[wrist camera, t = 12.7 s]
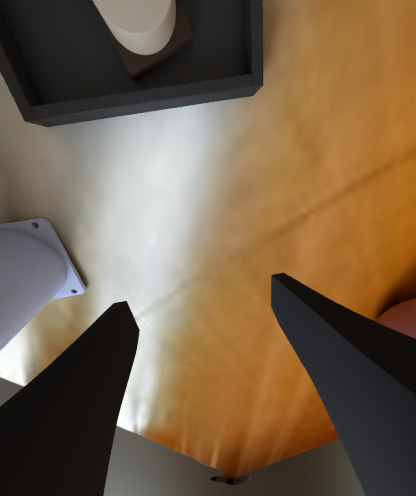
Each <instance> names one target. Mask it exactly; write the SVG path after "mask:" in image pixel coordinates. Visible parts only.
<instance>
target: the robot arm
mask: <svg viewBox="0 0 416 496" xmlns="http://www.w3.org/2000/svg"><path fill="white" fill-rule="evenodd" d="M35 223H37V224H38V226H39V227H38V226H36V225H35ZM74 289H75V290H76V291H75V290H74ZM85 291H86V287H85V285H84V283H83V281H82V279H81V278H80V276H79V274H78V272H77V270H76V269H75V267H74V265H73V263H72V261H71V260H70V258H69V256H68V254H67V252H66V250H65V249H64V247H63V245H62V243H61V241H60V240H59V238H58V236H57V234H56V232H55V230H54V229H53V227H52V225H51V223H50V222H49V220H47V219H46V218H35V219H29V220H23V221H17V222H11V223H5V224H0V351H1V350H2V349H3V348H4V347H5V346H6V345H7V344H8V342H9V341H10V340H11V339H12V338H13V337H14V336H15V335H16V334H17V333H18V332H19V331H20V330H21V329H22V328H23V327H24V326H25V325H26V324H27V323H28V322H29V321H30V320H31V319H32V318H33V317H34V316H35V315H36V314H37V313H38V312H39V311H40V310H41V309H42V308H43V307H44V306H45V305H46V304H47V303H48V302H49V301H50V300H51V299H56V298H61V297H67V296H73V295H78V294H83V293H84V292H85ZM271 307H272V309H273V312H274V314H275V316H276V318H277V321H278V323H279V325H280V327H281V328H282V330H283V332H284V334H285V335H286V337H287V339H288V340H289V342H290V344H291V345H292V347H293V349H294V350H295V352H296V354H297V356H298V357H299V359H300V361H301V362H302V364H303V366H304V367H305V369H306V371H307V372H308V374H309V376H310V378H311V380H312V381H313V383H314V385H315V387H316V389H317V391H318V394H319V396H320V398H321V400H322V402H323V404H324V406H325V408H326V410H327V412H328V414H329V416H330V418H331V421H332V423H333V425H334V427H335V429H336V431H337V433H338V435H339V438H340V440H341V442H342V444H343V446H344V449H345V451H346V453H347V455H348V457H349V460H350V462H351V464H352V466H353V469H354V471H355V473H356V475H357V478H358V480H359V482H360V484H361V486H362V489H363V491H364V494H365V496H416V338H413V337H410V336H408V335H405V334H403V333H401V332H398V331H396V330H393V329H391V328H389V327H386V326H384V325H382V324H380V323H377V322H375V321H373V320H371V319H368V318H366V317H364V316H362V315H360V314H358V313H356V312H354V311H352V310H350V309H348V308H346V307H344V306H342V305H340V304H338V303H336V302H334V301H332V300H330V299H328V298H327V297H325V296H323V295H321V294H319V293H318V292H316V291H314V290H312V289H311V288H309V287H307V286H306V285H304V284H302V283H300V282H299V281H297V280H295V279H294V278H292V277H290V276H288V275H287V274H285V273H280V274H275V275H272V279H271ZM139 331H140V330H139V328H138V326H137V323H136V321H135V319H134V317H133V314H132V312H131V310H130V308H129V305H128V303H127V301H123V302H118V303H114V304H113V305H111V306H110V307H109V308H108V309H107V310H106V311H105V312H104V313H103V314H102V315H101V316H100V317H99V318H98V319H97V320H96V321H95V322H94V323H93V324H92V325H91V326H90V327H89V328H88V329H87V330H86V331H85V332H84V333H83V334H82V335H81V336H80V337H79V338H78V339H77V340H76V341H75V342H74V343H73V344H71V345H70V346H69V347H68V348H67V349H66V350H65V351H64V352H63V353H62V354H61V355H60V356H59V357H57V358H56V359H55V360H54V361H53V362H52V363H51V364H50V365H49V366H48V367H47V368H46V369H44V370H43V371H42V372H41V373H40V374H39V375H38V376H36V377H35V378H34V379H33V380H32V381H31V382H29V383H28V384H27V385H26V386H25V387H23V388H22V389H21V390H20V391H19V392H18V393H16V394H15V395H14V396H13V397H11V398H10V399H9V400H8V401H6V402H5V403H4V404H3V405H2V406H0V496H103V494H104V488H105V483H106V477H107V471H108V465H109V460H110V454H111V449H112V444H113V439H114V434H115V429H116V424H117V420H118V416H119V412H120V408H121V404H122V401H123V397H124V394H125V390H126V387H127V383H128V380H129V376H130V373H131V369H132V366H133V362H134V358H135V355H136V350H137V344H138V338H139Z"/></svg>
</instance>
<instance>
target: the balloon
mask: <svg viewBox="0 0 416 496" xmlns="http://www.w3.org/2000/svg"><path fill="white" fill-rule="evenodd" d="M376 322H377V323H380V324H382V325H384V326H386V327H389V328H391V329H393V330H396V331H398V332H401V333H403V334H405V335H408V336H410V337H413V338H416V298H415V299H411V300H408V301H404V302H402V303H399V304H397V305H395V306H393V307H391V308H390V309H388V310H387V311H386V312H384V313H383V314H382V315H381V316H380V317H379V318H378V319H377V321H376Z"/></svg>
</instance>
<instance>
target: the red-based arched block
mask: <svg viewBox="0 0 416 496" xmlns="http://www.w3.org/2000/svg"><path fill="white" fill-rule="evenodd" d="M90 1H91V2H92V4H93V6H94V8H95V10H96V12H97V14H98V16H99V17H100V19H101V21H102V23H103V25H104V27H105V29H106V31H107V33H108V34H109V36H110V38H111V40H112V42H113V44H114V46H115V48H116V49H117V51H118V53H119V55H120V57H121V59H122V61H123V63H124V64H125V66H126V68H127V70H128V72H129V74H130V76H131V77H132V79H133V80H134V81H137V80H138V79H140V78H141V77H143V76H144V75H146V74H147V73H149V72H150V71H152V70H154V69H155V68H157V67H158V66H160V65H161V64H163V63H164V62H166V61H167V60H169V59H170V58H172V57H173V56H175V55H176V54H178V53H179V52H181V51H182V50H184V49H186V48H187V47H189V46H190V45H192V44H193V31H192V29H191V26H190V23H189V21H188V18H187V15H186V13H185V10H184V7H183V5H182V2H181V0H90Z"/></svg>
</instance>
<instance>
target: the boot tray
mask: <svg viewBox="0 0 416 496" xmlns="http://www.w3.org/2000/svg"><path fill="white" fill-rule="evenodd" d="M181 2H182V5H183V7H184V10H185V13H186V15H187V18H188V21H189V23H190V26H191V29H192V31H193V44H192V45H190V46H189V47H187V48H186V49H184V50H182V51H181V52H179V53H178V54H176V55H175V56H173V57H172V58H170V59H169V60H167V61H166V62H164V63H163V64H161V65H160V66H158V67H157V68H155V69H154V70H152V71H150V72H149V73H147V74H146V75H144V76H143V77H141V78H140V79H138V80H137V81H134V80H133V79H132V77H131V76H130V74H129V72H128V70H127V68H126V66H125V64H124V63H123V61H122V59H121V57H120V55H119V53H118V51H117V49H116V48H115V46H114V44H113V42H112V40H111V38H110V36H109V34H108V33H107V31H106V29H105V27H104V25H103V23H102V21H101V19H100V17H99V16H98V14H97V12H96V10H95V8H94V6H93V4H92V2H91V1H90V0H0V72H1V74H2V76H3V78H4V80H5V82H6V84H7V86H8V88H9V90H10V92H11V94H12V96H13V98H14V100H15V102H16V104H17V106H18V108H19V111H20V113H21V115H22V117H23V119H24V121H25V122H29V123H33V124H37V125H41V126H45V127H51V126H58V125H64V124H71V123H77V122H84V121H90V120H97V119H103V118H110V117H116V116H123V115H130V114H136V113H143V112H149V111H156V110H162V109H169V108H175V107H182V106H189V105H195V104H202V103H208V102H215V101H221V100H228V99H234V98H241V97H247V96H253V95H254V94H255V93H256V92H257V91H258V90H259V89H260V88H261V87H262V86H263V10H262V0H181Z"/></svg>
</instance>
